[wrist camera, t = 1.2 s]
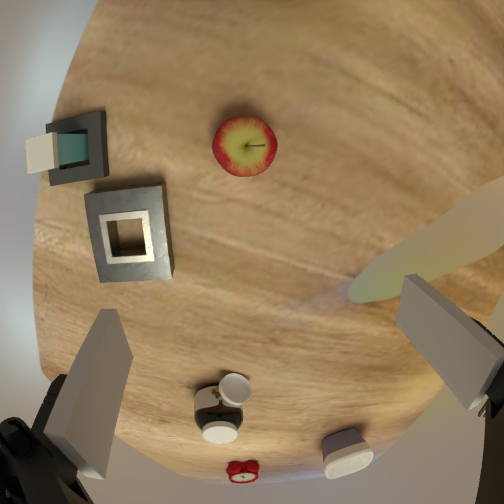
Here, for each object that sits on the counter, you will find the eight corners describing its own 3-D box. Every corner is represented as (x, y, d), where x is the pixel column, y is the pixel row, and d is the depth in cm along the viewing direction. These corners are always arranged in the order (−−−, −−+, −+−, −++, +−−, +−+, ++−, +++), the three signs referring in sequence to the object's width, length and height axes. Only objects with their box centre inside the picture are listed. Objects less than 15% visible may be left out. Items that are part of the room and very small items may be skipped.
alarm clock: (227, 484, 72) (227, 477, 64) (225, 469, 77) (225, 459, 69) (258, 482, 74) (263, 474, 65) (256, 467, 79) (261, 456, 71)
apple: (271, 170, 43) (287, 178, 34) (214, 175, 42) (215, 185, 33) (267, 117, 40) (283, 110, 31) (210, 121, 39) (209, 114, 30)
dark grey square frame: (52, 124, 35) (45, 124, 33) (106, 112, 36) (100, 110, 34) (57, 183, 39) (50, 186, 36) (109, 175, 40) (104, 177, 38)
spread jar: (195, 404, 59) (195, 444, 48) (191, 370, 55) (190, 414, 44) (248, 402, 61) (254, 443, 50) (250, 369, 57) (258, 412, 46)
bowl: (359, 442, 77) (370, 466, 67) (315, 456, 76) (324, 482, 66) (364, 419, 71) (378, 446, 61) (315, 435, 70) (325, 465, 60)
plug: (67, 137, 36) (25, 140, 25) (90, 132, 37) (52, 132, 26) (68, 164, 38) (27, 174, 27) (92, 160, 38) (54, 168, 27)
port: (93, 190, 40) (83, 195, 36) (165, 182, 42) (160, 186, 38) (107, 272, 45) (99, 283, 41) (174, 268, 47) (171, 279, 43)
